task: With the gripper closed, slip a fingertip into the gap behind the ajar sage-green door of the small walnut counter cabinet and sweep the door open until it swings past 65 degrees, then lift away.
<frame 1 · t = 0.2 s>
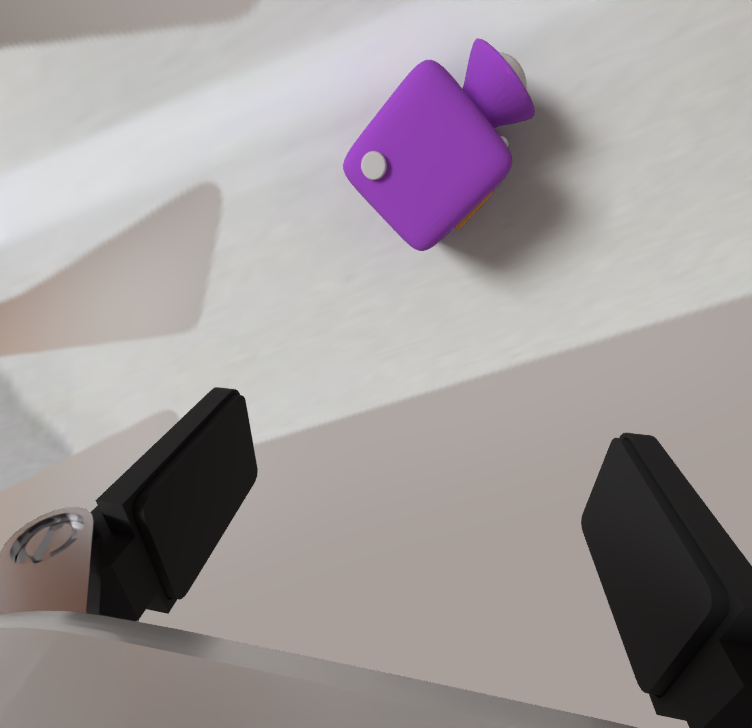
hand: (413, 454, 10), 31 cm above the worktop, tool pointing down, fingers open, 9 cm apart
toy camera: (442, 148, 34), on the worktop
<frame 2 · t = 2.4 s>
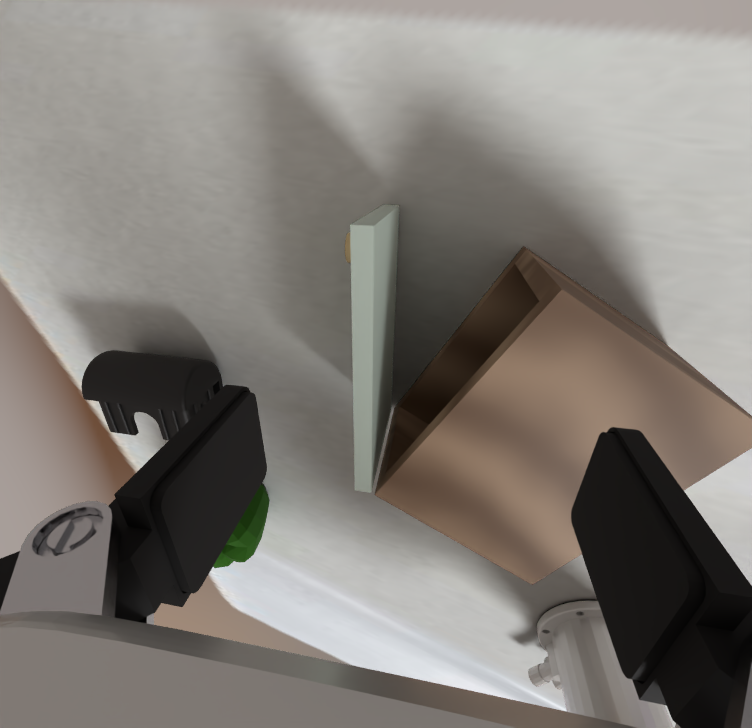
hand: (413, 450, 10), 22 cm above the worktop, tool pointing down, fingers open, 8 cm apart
cabinet: (516, 380, 33), on the worktop
end cap: (182, 372, 39), on the worktop
bell pepper: (247, 488, 46), on the worktop
door: (369, 345, 27), point 6 cm above the worktop, hinge at 30.0°
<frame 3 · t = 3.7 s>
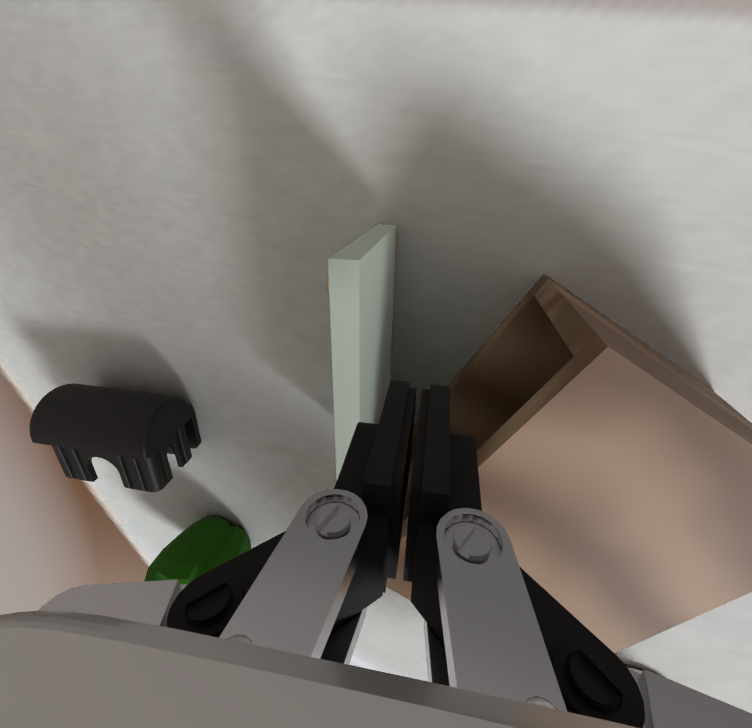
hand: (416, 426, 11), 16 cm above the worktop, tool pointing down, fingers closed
cabinet: (532, 426, 28), on the worktop
end cap: (152, 406, 35), on the worktop
bell pepper: (227, 531, 41), on the worktop
door: (359, 391, 23), point 6 cm above the worktop, hinge at 30.0°
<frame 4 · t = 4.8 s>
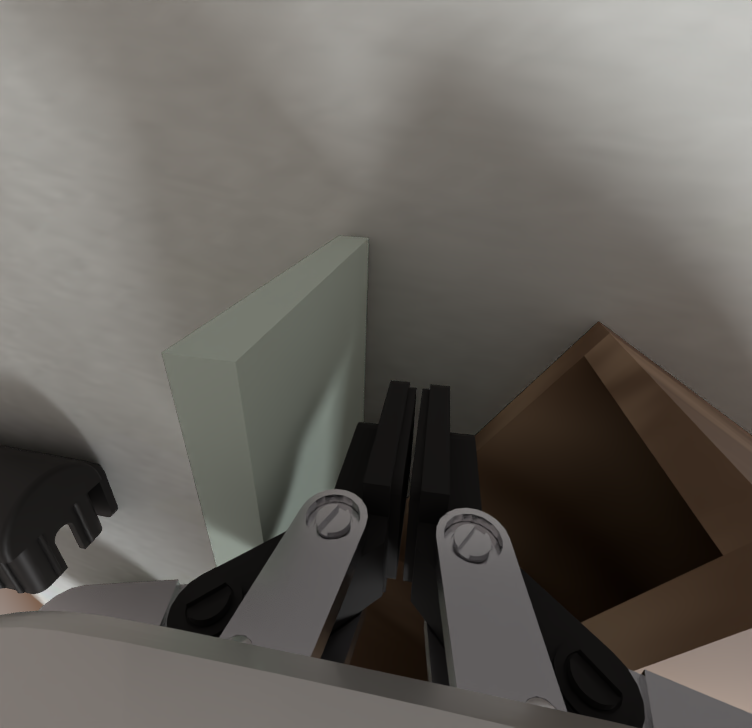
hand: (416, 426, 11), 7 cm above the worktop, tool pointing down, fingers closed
cabinet: (560, 519, 20), on the worktop
end cap: (50, 461, 26), on the worktop
door: (305, 500, 15), point 6 cm above the worktop, hinge at 30.6°, touching gripper
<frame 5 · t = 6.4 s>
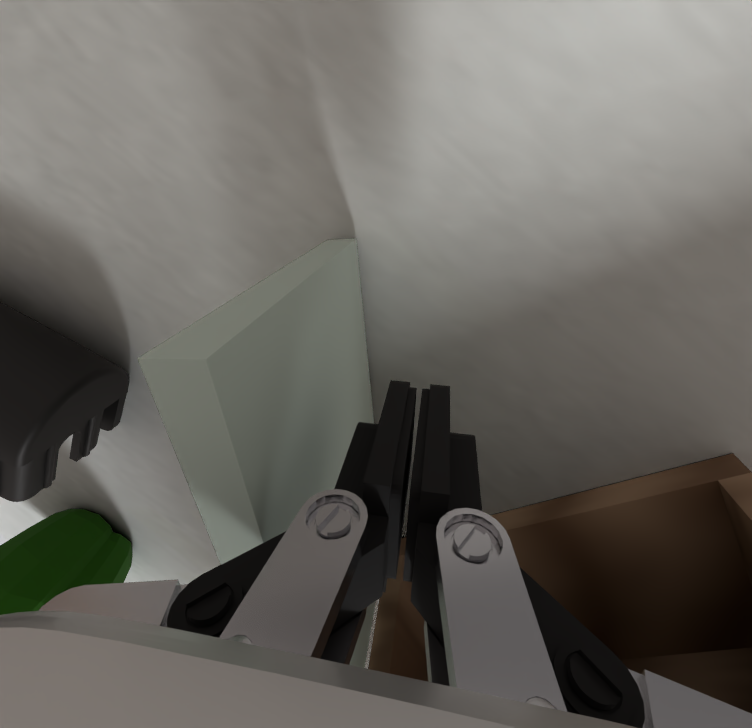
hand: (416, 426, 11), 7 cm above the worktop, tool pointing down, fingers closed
cabinet: (577, 584, 22), on the worktop
end cap: (57, 344, 21), on the worktop
bell pepper: (103, 531, 29), on the worktop
door: (319, 504, 15), point 6 cm above the worktop, hinge at 63.0°, touching gripper
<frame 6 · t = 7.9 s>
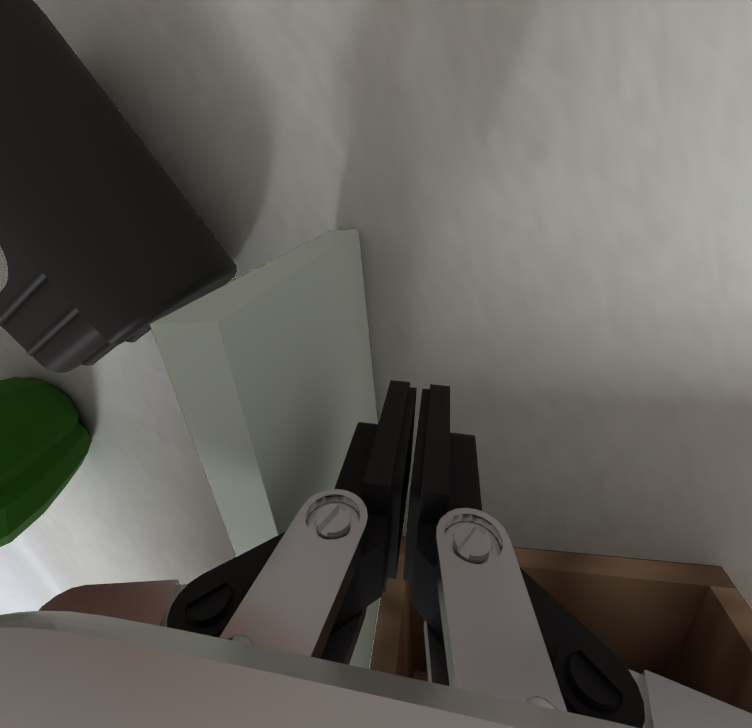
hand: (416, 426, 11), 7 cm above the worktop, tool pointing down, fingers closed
cabinet: (530, 621, 25), on the worktop
end cap: (144, 198, 17), on the worktop
bell pepper: (57, 415, 24), on the worktop
door: (324, 492, 15), point 6 cm above the worktop, hinge at 90.7°, touching gripper
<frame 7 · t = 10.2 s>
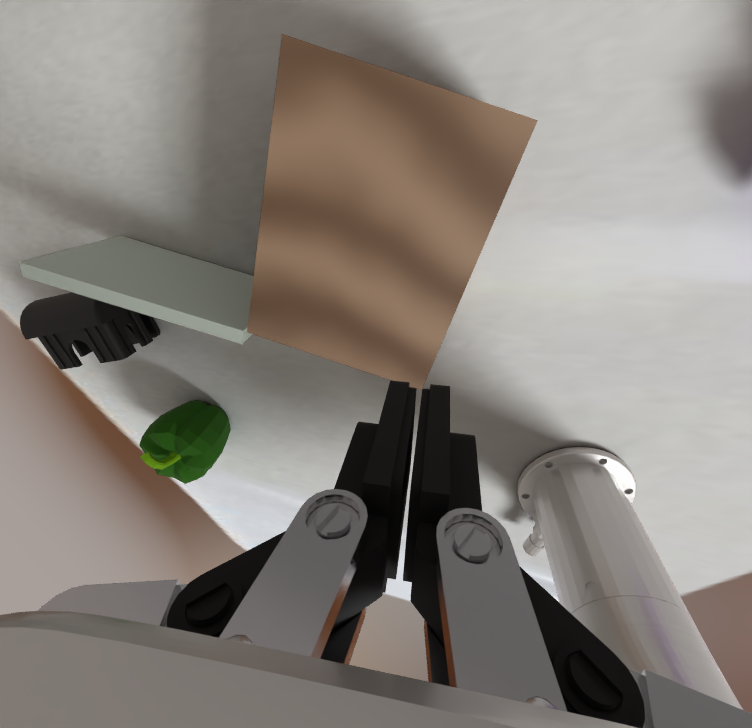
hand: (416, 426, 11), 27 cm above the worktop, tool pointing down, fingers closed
cabinet: (387, 219, 34), on the worktop
end cap: (116, 311, 43), on the worktop
bell pepper: (210, 416, 49), on the worktop
door: (173, 289, 34), point 6 cm above the worktop, hinge at 91.6°
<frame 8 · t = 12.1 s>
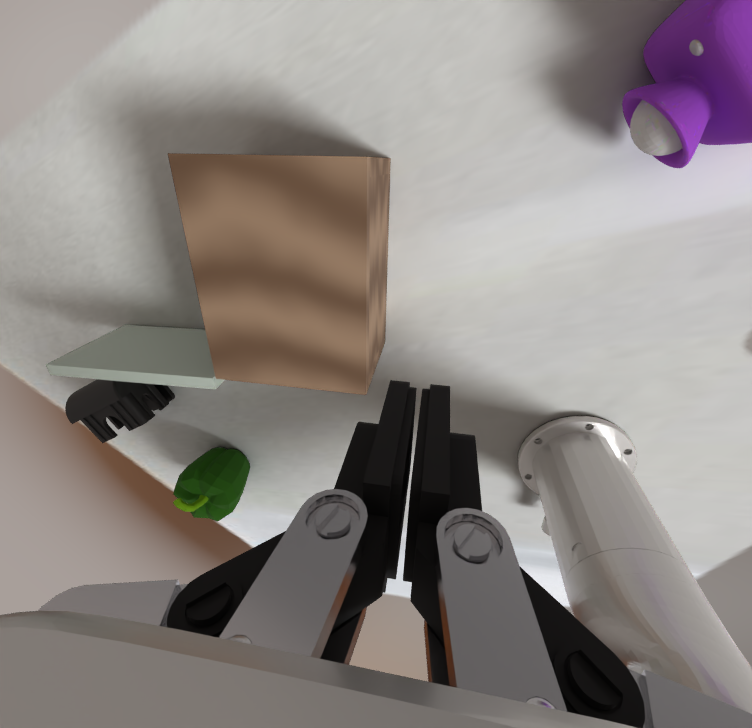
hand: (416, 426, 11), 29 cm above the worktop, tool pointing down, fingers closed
toy camera: (703, 70, 28), on the worktop
cabinet: (320, 256, 39), on the worktop
end cap: (138, 386, 52), on the worktop
bell pepper: (232, 458, 55), on the worktop
door: (165, 357, 41), point 6 cm above the worktop, hinge at 91.6°
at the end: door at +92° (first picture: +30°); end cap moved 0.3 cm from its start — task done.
